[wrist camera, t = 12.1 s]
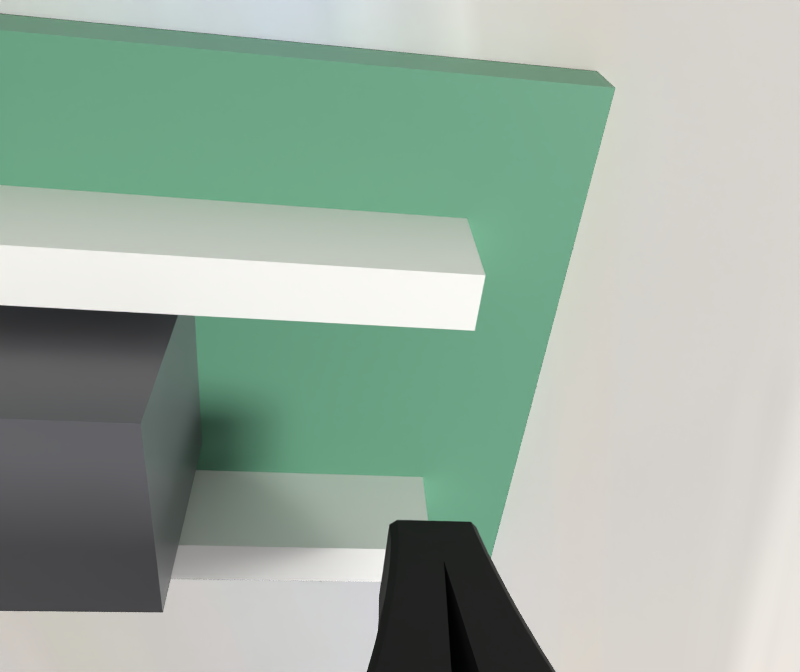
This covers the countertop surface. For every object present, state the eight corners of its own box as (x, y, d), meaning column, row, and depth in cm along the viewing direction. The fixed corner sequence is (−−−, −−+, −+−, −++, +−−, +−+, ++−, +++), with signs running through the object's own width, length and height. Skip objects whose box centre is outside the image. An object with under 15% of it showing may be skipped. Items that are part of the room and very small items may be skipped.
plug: (201, 443, 15) (161, 617, 12) (-56, 434, 15) (-176, 615, 11) (192, 274, 13) (138, 428, 10) (-112, 255, 12) (-283, 413, 9)
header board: (479, 546, 19) (512, 718, 15) (-98, 534, 17) (-217, 722, 14) (596, 71, 12) (706, 170, 9) (-317, -17, 11) (-664, 58, 7)
